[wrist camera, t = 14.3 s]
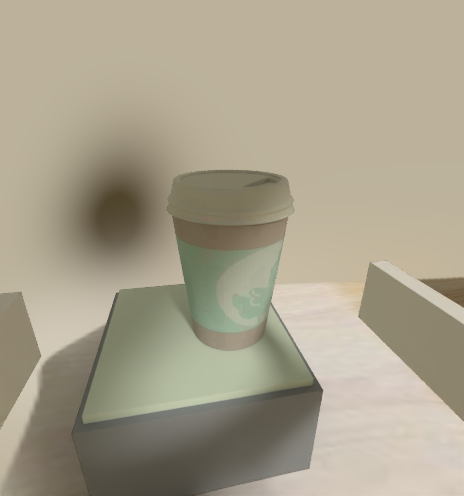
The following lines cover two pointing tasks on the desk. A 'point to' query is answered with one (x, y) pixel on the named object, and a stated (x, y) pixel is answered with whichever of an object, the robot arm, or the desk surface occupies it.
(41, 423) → the desk surface
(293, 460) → the block
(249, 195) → the coffee cup
